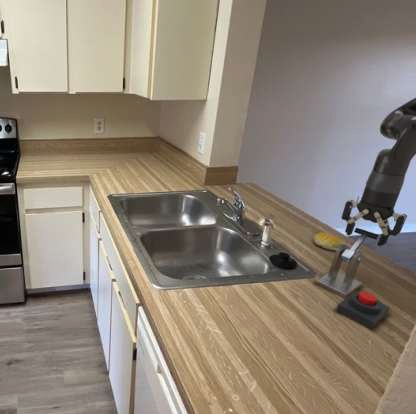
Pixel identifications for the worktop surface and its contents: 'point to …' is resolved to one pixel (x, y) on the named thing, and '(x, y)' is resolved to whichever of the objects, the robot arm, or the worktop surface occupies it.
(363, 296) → the button
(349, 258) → the press lever
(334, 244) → the bread roll
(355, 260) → the lever bracket
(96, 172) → the worktop surface
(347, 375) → the worktop surface
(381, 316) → the button block
